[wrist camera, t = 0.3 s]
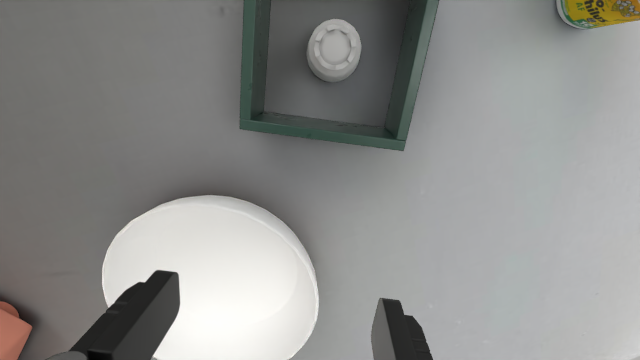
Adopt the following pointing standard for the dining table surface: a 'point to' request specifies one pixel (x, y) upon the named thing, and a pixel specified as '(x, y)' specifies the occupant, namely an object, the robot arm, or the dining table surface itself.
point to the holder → (387, 138)
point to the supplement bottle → (598, 12)
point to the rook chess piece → (333, 50)
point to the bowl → (220, 278)
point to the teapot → (12, 332)
